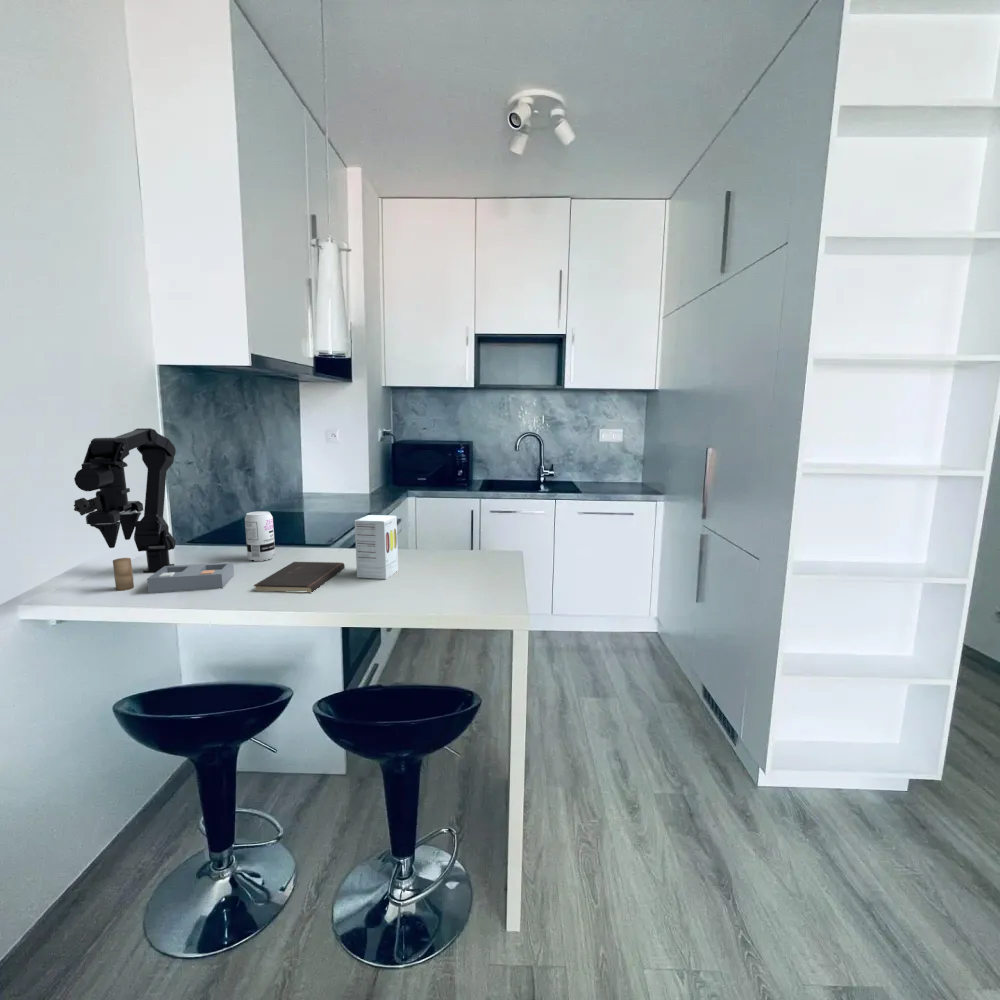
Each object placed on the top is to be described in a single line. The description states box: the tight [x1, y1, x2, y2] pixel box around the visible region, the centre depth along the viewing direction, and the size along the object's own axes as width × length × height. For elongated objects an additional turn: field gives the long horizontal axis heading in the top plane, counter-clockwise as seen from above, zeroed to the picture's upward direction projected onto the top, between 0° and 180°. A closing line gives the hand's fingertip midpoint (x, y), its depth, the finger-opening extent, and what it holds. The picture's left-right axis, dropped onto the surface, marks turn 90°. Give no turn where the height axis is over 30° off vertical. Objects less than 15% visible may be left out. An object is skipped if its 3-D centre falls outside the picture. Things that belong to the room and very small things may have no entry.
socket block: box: [146, 561, 235, 594], centre depth 152 cm, size 12×18×4 cm, turn 102°
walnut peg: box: [112, 557, 135, 592], centre depth 148 cm, size 4×4×8 cm
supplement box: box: [354, 514, 399, 580], centre depth 159 cm, size 10×9×17 cm
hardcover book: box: [253, 561, 346, 593], centre depth 156 cm, size 16×23×2 cm
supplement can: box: [244, 510, 276, 562], centre depth 176 cm, size 8×8×15 cm
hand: (120, 543), depth 146 cm, fingers open, 9 cm apart
